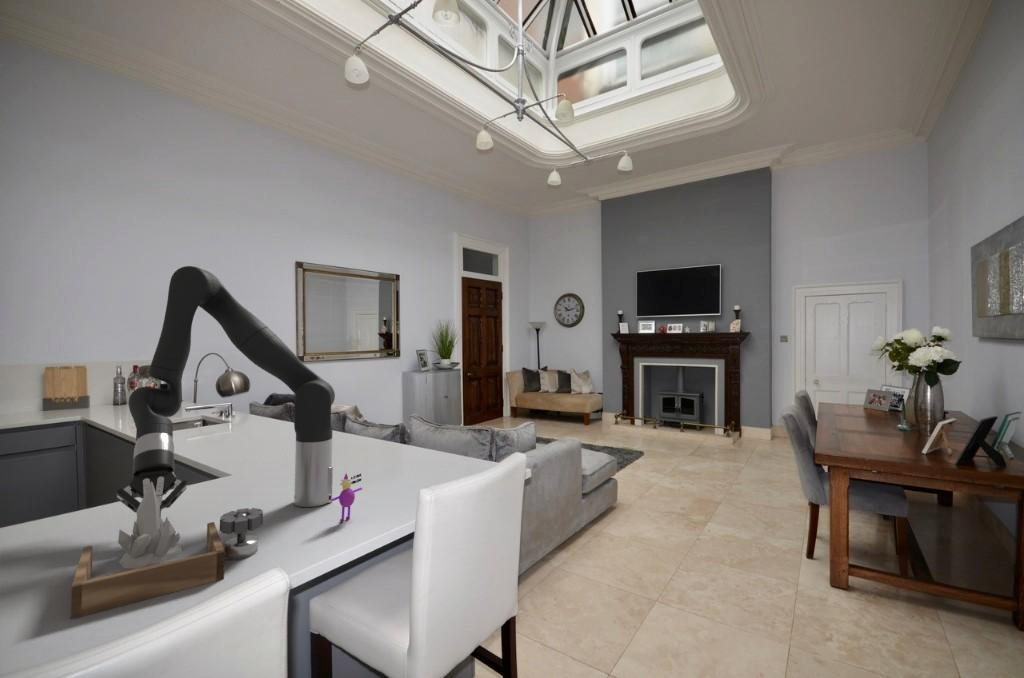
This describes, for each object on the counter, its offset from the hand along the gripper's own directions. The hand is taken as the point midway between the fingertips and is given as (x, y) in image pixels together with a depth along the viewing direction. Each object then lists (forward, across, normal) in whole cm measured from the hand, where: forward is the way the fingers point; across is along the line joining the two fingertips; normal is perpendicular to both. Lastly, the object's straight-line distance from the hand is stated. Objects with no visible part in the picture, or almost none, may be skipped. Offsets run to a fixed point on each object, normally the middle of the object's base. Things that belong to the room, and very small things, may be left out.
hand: (152, 526), depth 97 cm
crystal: (+8, 0, -2) cm, 8 cm away
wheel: (+10, +15, -12) cm, 21 cm away
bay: (+14, 0, -8) cm, 16 cm away
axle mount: (+13, +15, -8) cm, 21 cm away
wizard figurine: (+10, +38, -5) cm, 39 cm away
